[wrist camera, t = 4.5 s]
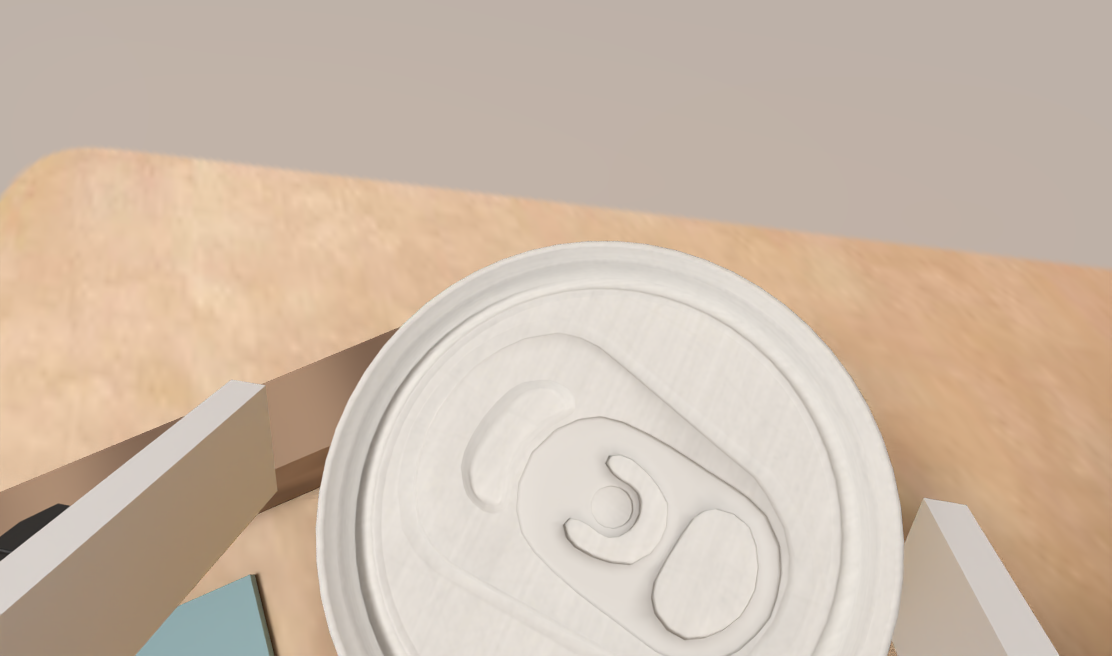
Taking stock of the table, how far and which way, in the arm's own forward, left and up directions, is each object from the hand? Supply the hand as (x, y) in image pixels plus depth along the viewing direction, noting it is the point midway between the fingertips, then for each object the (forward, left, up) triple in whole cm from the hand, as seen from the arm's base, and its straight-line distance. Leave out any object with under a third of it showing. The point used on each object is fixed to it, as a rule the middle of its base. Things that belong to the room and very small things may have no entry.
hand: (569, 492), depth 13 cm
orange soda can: (0, +1, -8) cm, 8 cm away
